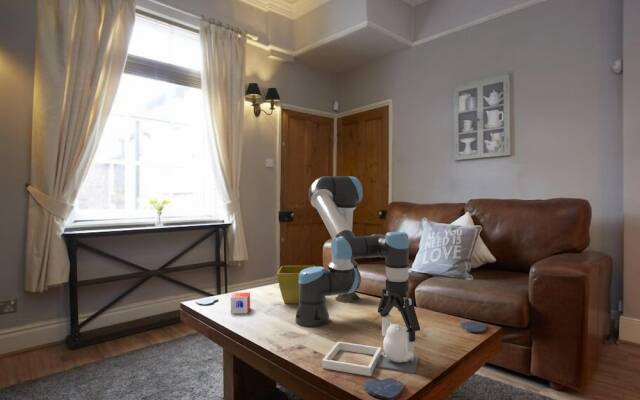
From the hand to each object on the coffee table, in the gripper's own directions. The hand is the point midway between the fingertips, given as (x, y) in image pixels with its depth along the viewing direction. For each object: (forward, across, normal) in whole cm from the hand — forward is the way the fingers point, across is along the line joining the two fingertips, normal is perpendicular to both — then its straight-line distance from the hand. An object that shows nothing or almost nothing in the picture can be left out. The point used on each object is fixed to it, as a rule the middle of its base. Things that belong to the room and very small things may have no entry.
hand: (397, 342), depth 120 cm
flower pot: (+8, +83, +5) cm, 83 cm away
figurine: (+6, 0, 0) cm, 6 cm away
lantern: (+8, +73, -20) cm, 76 cm away
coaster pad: (+6, 0, 0) cm, 7 cm away
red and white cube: (+8, +78, +36) cm, 87 cm away
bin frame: (+7, +7, +13) cm, 16 cm away
